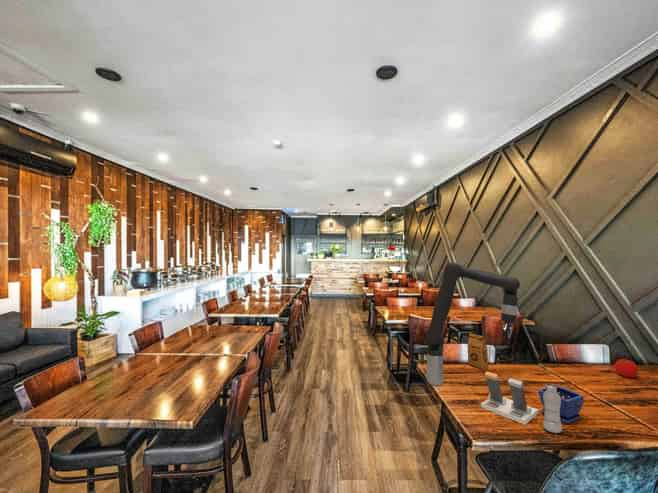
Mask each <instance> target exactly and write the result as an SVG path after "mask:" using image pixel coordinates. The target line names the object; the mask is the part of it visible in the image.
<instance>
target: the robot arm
mask: <svg viewBox="0 0 658 493" xmlns="http://www.w3.org/2000/svg"><path fill="white" fill-rule="evenodd" d="M459 278H465V279H469V280H473V281H475V282H479V283H481V284H484V285H488V286H494V287H499V288H502V289H503V298H502V305H501V314H500V321H501V322H504V323H503V325H502V328H501V331H502V337H504V338H503V344H504V345H507V346H509V345H510V338H511V337H512V334H513V330H514V326H513V324H516V323H517V319H518V317H517V316H518V301H519V298H518V289H520V287H521V282H520V280H519V279H518V278H516V277H512V276H507V275H501V274H497V273H495V272H494V273H493V272H490V271H487V270H486V271H484V270H480V269H474V268H470V267H466V266H464V265H461V264H459V263H457V262H453V261H450V262H448V263H447V264H446V265H445V266H444V269H443V277H442V281H441V285H440V288H439V289H438V292H437V295H436V297H435V302H434V306H433V310H432V315H431V316H432V317H431V320H430V324H429V326H428V329H427V331H426V334H425V338H426V341H427V349H426V359H427V360H426V366H425V370H426V375H425V376H426V382H427V383H428V384H429V385H433V386H442V385H444V332H443V328H444V325H445V322H446V321H447V318H448V316H449V313H450V311H451V309H452V304H453V302H454V300H453V299H454V296H455V286H456V284H457V281H458V279H459Z"/></svg>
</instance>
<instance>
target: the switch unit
mask: <svg viewBox="0 0 658 493" xmlns="http://www.w3.org/2000/svg"><path fill="white" fill-rule="evenodd" d="M502 397H503V396H502ZM480 408H482V409H484V410H486V411H489V412H492V413H495V414H497V415H499V416H502V417H505V418H507V419H510V420H511V419H512V421H514V420H515V421H514V422H516V421H517V422H516V423H519V424H521V423H522V425H523V426H526V425H527V424H528V423H529V422H530V421H531V420H533V419H534V418H535V417H536V416H537V415H539V409H537V408H534V407H531V406H529V405H527V412H524V411H521V410H518V409H516V408H515V407H514V403H513V399H510V398H507V397H503V399H502V403H500V402H497V401H494V400H492V399H491V395H490V393H488V397H487V399H485V400H484V401H482V402H481V403H480Z"/></svg>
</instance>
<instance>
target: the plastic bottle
mask: <svg viewBox="0 0 658 493" xmlns="http://www.w3.org/2000/svg"><path fill="white" fill-rule="evenodd" d="M556 386H557V385H556V384H553V383H546V384H545V387H546V389H547V390H546V391H545V392H544V393H543V400H544V406H543V408H544V407H545V414H544V417H543V427H544V429H545V430H546V431H547V432H550V433H552V434H560V433H562V431H563V430H562V429H563V427H562V422H561V421H560V404H561V398H560V396H559V394H560V393H559V392H558V393H559V394H558V393H557V392H556V391H557V387H556Z"/></svg>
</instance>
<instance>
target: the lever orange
mask: <svg viewBox="0 0 658 493" xmlns="http://www.w3.org/2000/svg"><path fill="white" fill-rule="evenodd" d="M484 377H485V380H486V383H487V387H488V391H489V394H490V395H491V399H492V400H494V401H497V402H500V403H502V399H503V394H502V393H503V392H502V390H501V389H502V388H501V386H500V381H499V374H497V373H494V372H490V371H486V372H485V373H484Z"/></svg>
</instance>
